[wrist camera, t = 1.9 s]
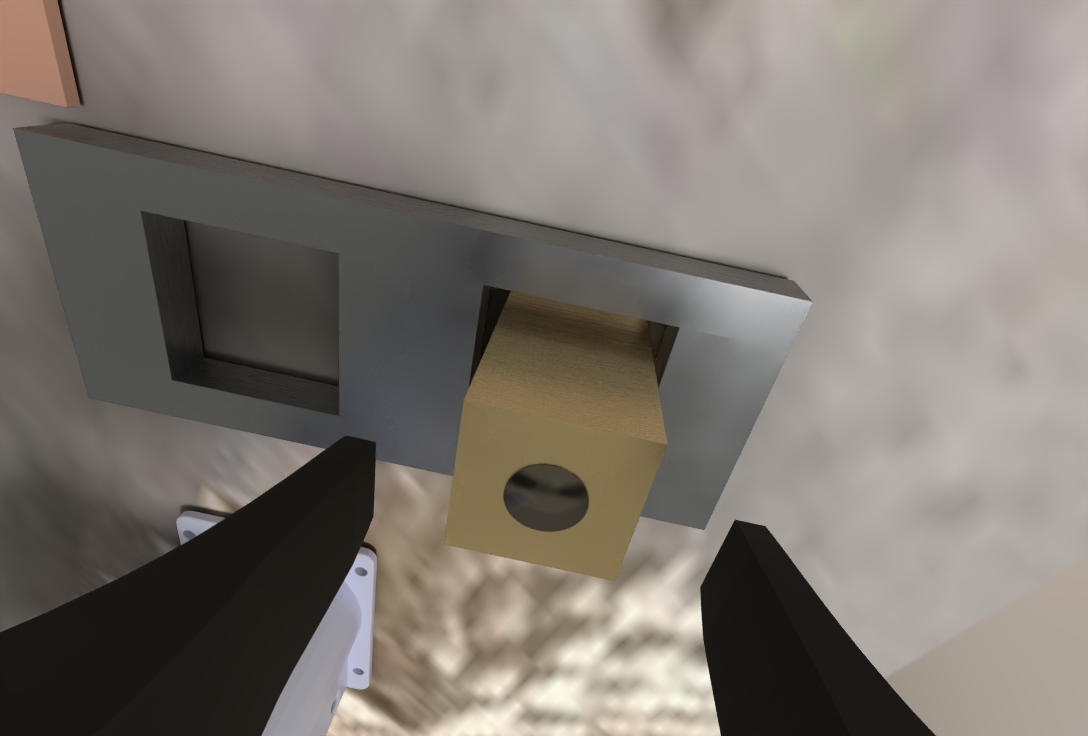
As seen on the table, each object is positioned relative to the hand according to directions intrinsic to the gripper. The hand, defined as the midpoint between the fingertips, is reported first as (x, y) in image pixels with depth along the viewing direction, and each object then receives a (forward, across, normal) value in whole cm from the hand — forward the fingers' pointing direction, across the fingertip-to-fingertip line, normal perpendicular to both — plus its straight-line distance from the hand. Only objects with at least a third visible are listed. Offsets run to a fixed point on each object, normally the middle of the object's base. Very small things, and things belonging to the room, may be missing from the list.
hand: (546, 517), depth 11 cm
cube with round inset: (+7, 0, 0) cm, 7 cm away
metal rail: (+6, +5, 0) cm, 8 cm away
